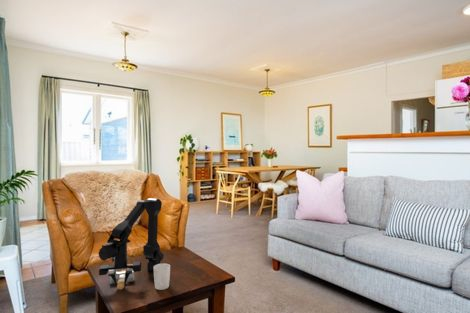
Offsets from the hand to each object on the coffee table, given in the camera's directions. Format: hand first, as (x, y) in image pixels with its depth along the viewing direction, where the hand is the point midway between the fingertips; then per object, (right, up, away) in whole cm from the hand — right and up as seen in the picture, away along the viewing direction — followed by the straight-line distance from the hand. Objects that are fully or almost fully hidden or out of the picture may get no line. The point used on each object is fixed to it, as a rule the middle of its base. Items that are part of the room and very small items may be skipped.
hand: (120, 285), depth 144 cm
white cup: (+19, -2, +2) cm, 19 cm away
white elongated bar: (-2, -1, +6) cm, 7 cm away
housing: (-3, -1, +9) cm, 10 cm away
